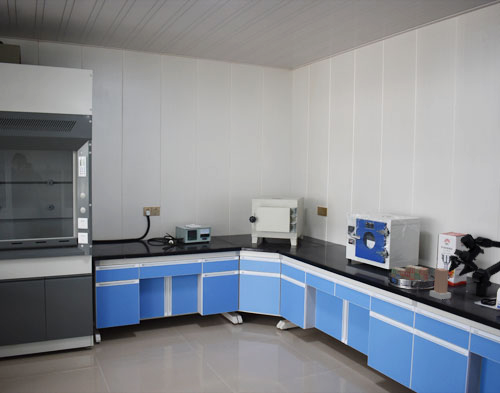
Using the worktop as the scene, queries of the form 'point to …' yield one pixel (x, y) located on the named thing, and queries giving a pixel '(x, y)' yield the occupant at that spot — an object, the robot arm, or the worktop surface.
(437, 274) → the terracotta block
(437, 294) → the plinth block
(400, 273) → the stack of blocks
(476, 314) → the worktop surface
